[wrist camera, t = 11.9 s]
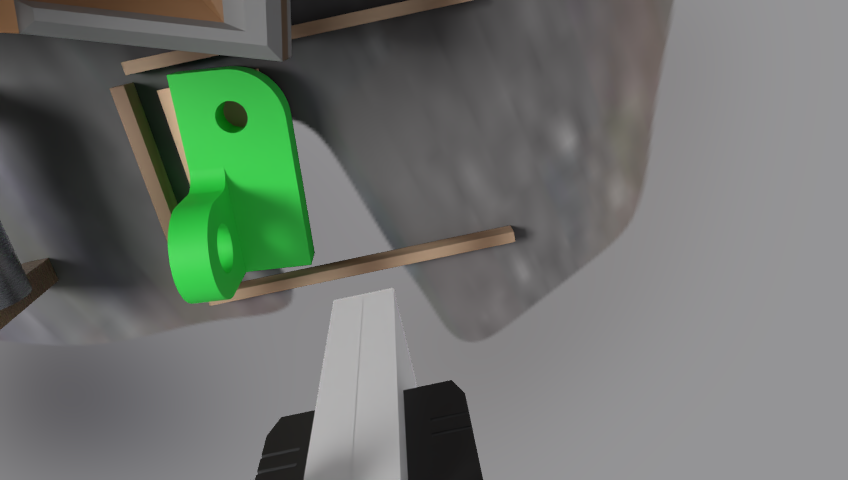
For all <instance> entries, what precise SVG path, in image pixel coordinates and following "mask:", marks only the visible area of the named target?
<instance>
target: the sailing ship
mask: <svg viewBox="0 0 848 480" xmlns="http://www.w3.org/2000/svg"><path fill="white" fill-rule="evenodd" d="M0 33H19V34H28V35H38V36H47V37H57V38H66V39H75V40H85V41H94V42H104V43H113V44H122V45H132V46H141V47H150V48H160V49H169V50H179V51H188V52H197V53H207V54H216V55H226V56H235V57H244V58H254V59H263V60H273V61H282V62H283V61H284V60H286V59H288V58H290V57H292V44H291V2H290V0H0Z"/></svg>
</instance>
